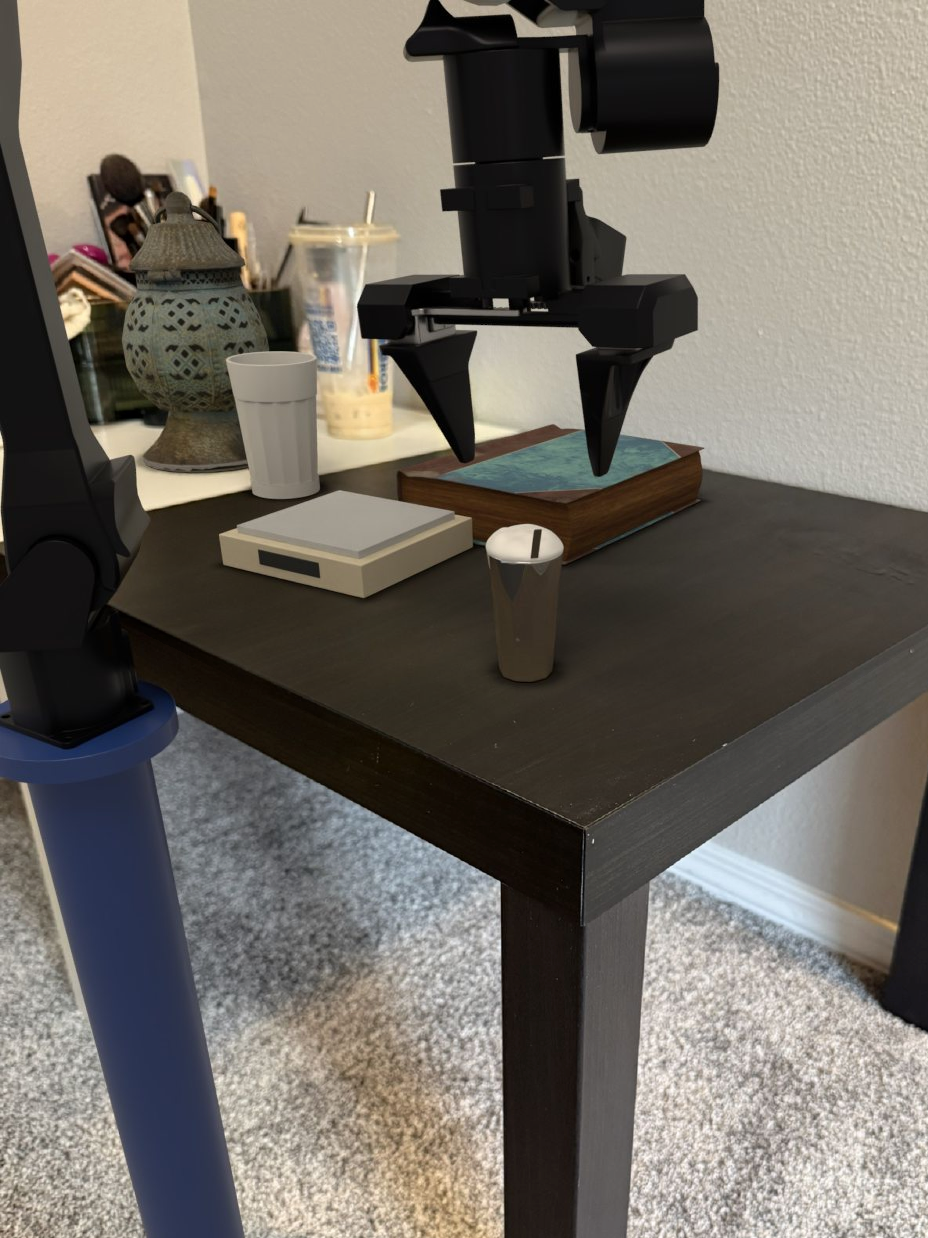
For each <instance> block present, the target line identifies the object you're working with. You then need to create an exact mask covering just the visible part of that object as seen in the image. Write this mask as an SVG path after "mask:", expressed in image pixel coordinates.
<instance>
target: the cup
mask: <svg viewBox="0 0 928 1238" xmlns="http://www.w3.org/2000/svg"><path fill="white" fill-rule="evenodd" d="M226 363H227V368H228V372H229V377H230V381H231V386H232V390H233V395H234V398H235V403H236V407H237V412H238V417H239V422H240V427H241V432H242V437H243V442H244V447H245V452H246V457H247V461H248V466H249V467H248V471H249V476H250V484H251V492H252V494H253V495H254V496H257V497H259V498H264V499H272V500H291V499H298V498H304V497H305V498H306V497H308V496H313V495H314V494H317V493H319V491H320V490H321V486H320V485H321V483H320V474H319V460H318V459H319V458H318V457H319V456H318V454H319V453H318V420H317V419H318V418H317V417H318V416H317V415H318V414H317V413H318V412H317V395H318V375H317V374H318V358H317V356H316V355H315V354H311V353H307V352H299V351H286V350H285V351H284V350H283V351H277V350H276V351H275V350H274V351H269V352H254V353H245V354H238V355H234V356H231V357H228V358H227V359H226Z"/></svg>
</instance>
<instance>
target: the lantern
mask: <svg viewBox="0 0 928 1238" xmlns="http://www.w3.org/2000/svg"><path fill="white" fill-rule="evenodd" d="M165 213H166V214H167V215H166V220H164V221H161V217H162V215H164V214H165ZM193 213H195V214H197V215H199V216H200V217H201V218H203V219H205V220H206V221H203V220H196V218H195V217H194V214H193ZM153 220H154V223H152V224H150V225H149V226H148V229H147V233H146V236H145V239H144V241H143V243H142V246H141V247H140V248H139V250H138V251H137V253H136V254H135V255H134V256H133V258H132V259H131V260H130V262H129V263H128V270H129V271H130V272H134V275H135V282H136V288H137V289H136V291H135V293H134V295H133V297H132V299H131V301H130V303H129V304H128V306H127V308H126V311H125V316H124V322H123V330H122V337H121V343H122V349H123V354H124V359H125V360H124V361H125V365H126V369H127V371H128V373H129V374H130V377H131V378H132V380H133V382H134V384H135V386H136V387H137V389H138V391H139V393H140V394H142V395H143V396H144V397H145V398H146V399H148V401H150V402H151V403H152V404H154V405H155V406H156V407H157V408H158V409H159V410H162V411H163V410H165V411H168V413H167V418H166V422H165V425H164V427H163V429H162V431H161V432H160V435H159V436H158V437H157V439H156V440H155V441H154V443H152V445H151V446H150V447H148V448H147V450H145V452H144V453H143V454H142V459H143V462H144V464H145V466H147V467H150V468H151V469H152V468H153V469H155V470H160V471H166V472H171V473H195V474H196V473H215V472H216V473H217V472H227V471H235V470H242V469H247V468H249V466H248V461H247V457H246V452H245V447H244V442H243V437H242V432H241V427H240V422H239V417H238V412H237V407H236V403H235V398H234V395H233V390H232V386H231V381H230V377H229V372H228V368H227V363H226V359H227V358H228V357H231V356H234V355H238V354H245V353H254V352H270V347H269V340H268V333H267V331H266V329H265V326H264V323H263V321H262V318H261V315H260V312H259V310H258V309H257V307H256V305H255V303H254V301H253V300H252V298H251V295H250V294H249V292H248V290H247V289H246V287H245V285H244V283H243V280H242V276H241V274H240V270H239V268H242V267H245V266H246V260H245V259H244V257H242V256H241V255H240V254H239V253H237V252H236V251H235V250H234V249H232V248H231V247H230V246H229V245H228V244H227V243H226V242H225V241H224V239H223V237H221V236H222V231H221V228H220V225H219V223H218V222H217V221H216V220H215V219H214V218H213V217H212V216H211V215H210V214H209V213H208V212H207V211H206V210H204V209H203V208H202V207H200V206H198V205H194V204H193V202H192V200H191V199H190V198H189V196H188V195H187V194H186V193H184V192H182V191H171V192H169V193H168V194H167V195H166V198H165V200H164V204H163V205H161V206H159V207H158V208H157V210H155V212H154V215H153Z"/></svg>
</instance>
